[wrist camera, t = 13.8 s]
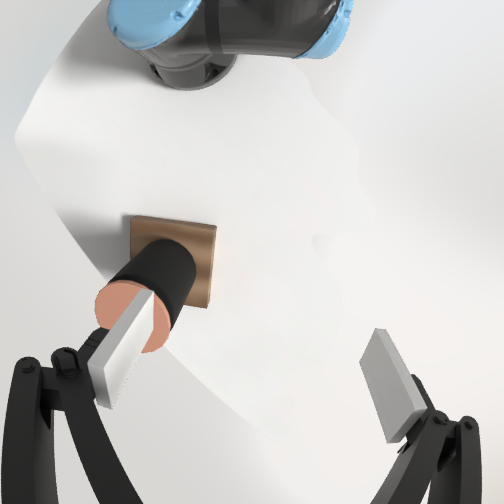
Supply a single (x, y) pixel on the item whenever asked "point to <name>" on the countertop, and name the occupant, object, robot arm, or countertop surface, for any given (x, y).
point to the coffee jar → (150, 288)
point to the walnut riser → (191, 237)
